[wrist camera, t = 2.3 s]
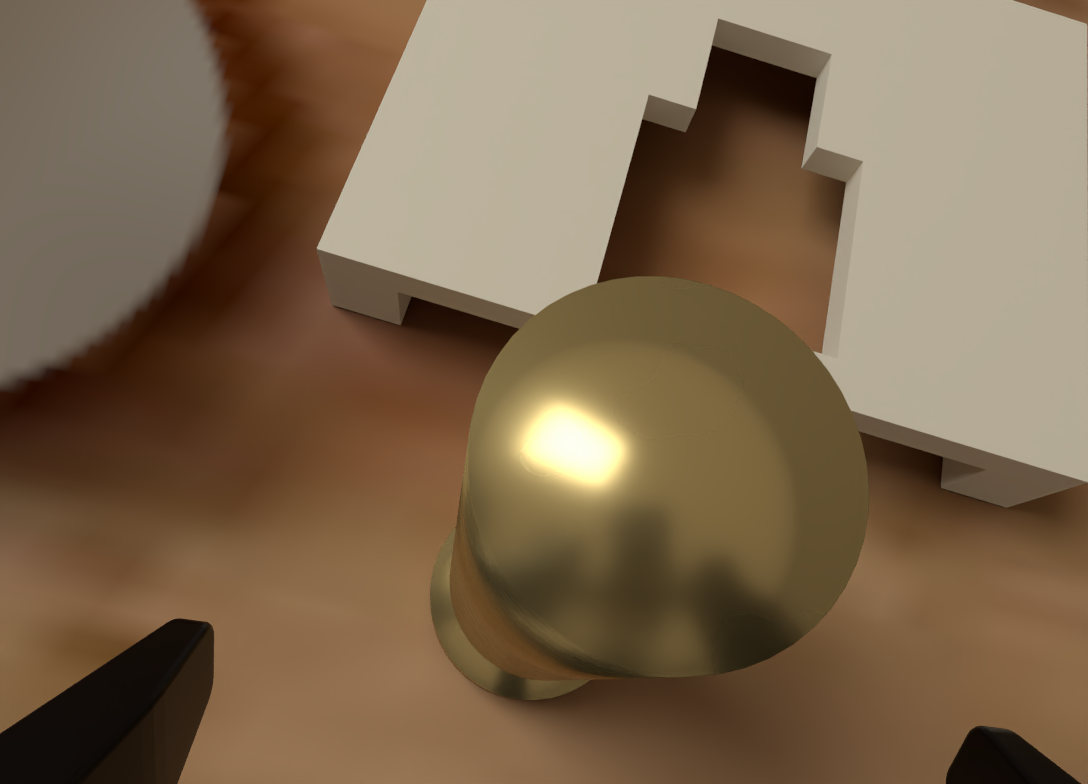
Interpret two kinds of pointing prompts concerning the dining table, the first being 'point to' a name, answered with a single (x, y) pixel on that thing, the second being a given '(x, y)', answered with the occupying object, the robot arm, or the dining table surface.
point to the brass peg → (648, 494)
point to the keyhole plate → (831, 150)
